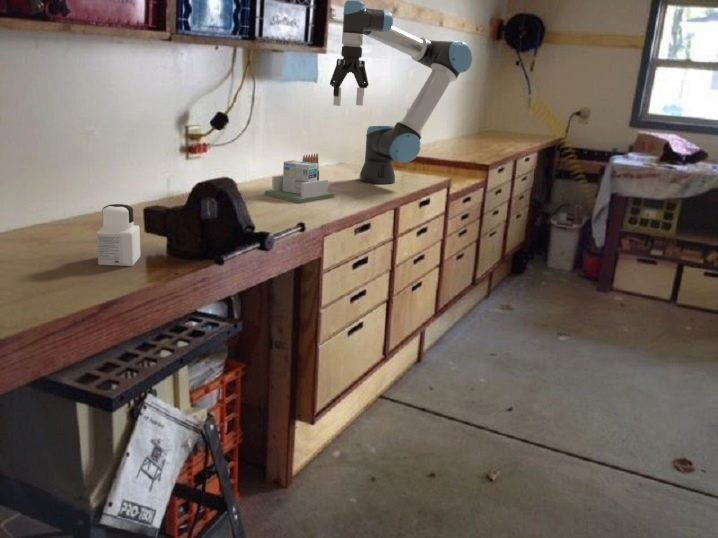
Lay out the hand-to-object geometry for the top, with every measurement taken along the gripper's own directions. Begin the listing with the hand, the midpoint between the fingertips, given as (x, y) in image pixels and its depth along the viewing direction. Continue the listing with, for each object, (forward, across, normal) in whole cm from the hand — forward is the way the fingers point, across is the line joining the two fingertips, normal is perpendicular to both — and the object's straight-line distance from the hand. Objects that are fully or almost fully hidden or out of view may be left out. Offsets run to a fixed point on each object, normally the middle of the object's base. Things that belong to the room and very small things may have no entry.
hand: (348, 105), depth 252 cm
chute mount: (+32, -25, 0) cm, 40 cm away
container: (+32, -117, -28) cm, 124 cm away
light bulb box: (+30, -25, 0) cm, 40 cm away
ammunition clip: (+32, -4, +14) cm, 35 cm away
